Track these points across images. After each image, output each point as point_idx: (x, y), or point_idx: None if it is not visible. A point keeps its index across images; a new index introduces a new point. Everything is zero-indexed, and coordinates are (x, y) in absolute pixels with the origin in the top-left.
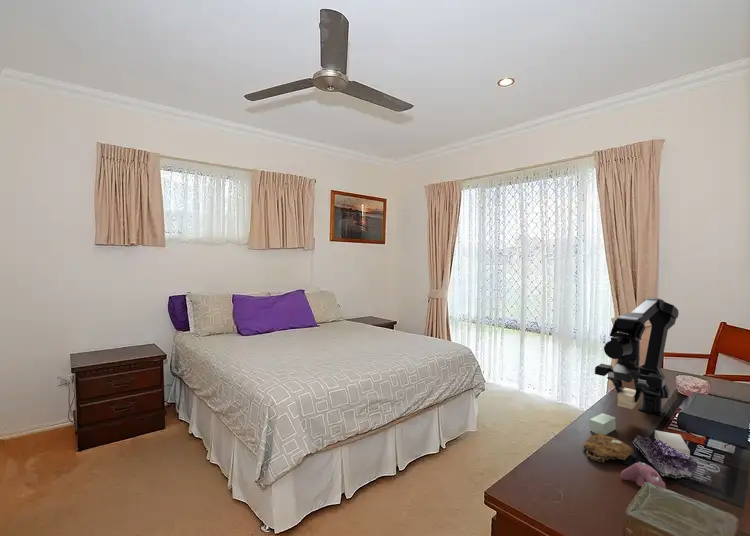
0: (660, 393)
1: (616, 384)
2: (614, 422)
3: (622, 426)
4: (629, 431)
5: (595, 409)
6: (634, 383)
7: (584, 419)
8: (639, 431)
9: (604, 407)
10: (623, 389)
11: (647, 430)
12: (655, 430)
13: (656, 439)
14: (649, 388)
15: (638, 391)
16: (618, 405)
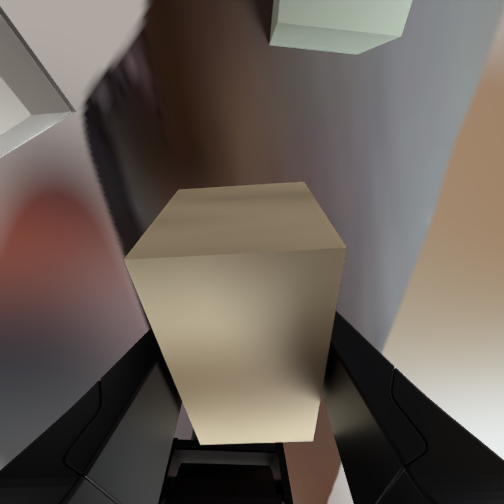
0: (169, 466)
1: (440, 455)
2: (276, 6)
3: (252, 140)
4: (198, 92)
5: (409, 255)
6: (291, 494)
7: (478, 34)
8: (166, 147)
9: (372, 302)
10: (313, 408)
11: (152, 196)
12: (26, 111)
13: (17, 54)
14: (207, 486)
15: (80, 422)
16: (296, 183)
